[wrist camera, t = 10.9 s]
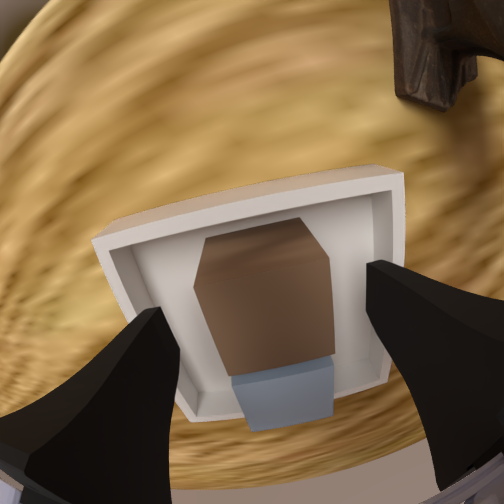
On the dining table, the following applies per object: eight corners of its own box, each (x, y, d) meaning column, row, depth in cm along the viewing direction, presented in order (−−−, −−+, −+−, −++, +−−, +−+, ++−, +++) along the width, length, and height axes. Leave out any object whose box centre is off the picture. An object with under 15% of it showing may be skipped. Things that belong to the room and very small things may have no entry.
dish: (374, 164, 11) (403, 172, 9) (372, 355, 16) (387, 382, 14) (114, 219, 12) (90, 239, 9) (193, 392, 16) (190, 422, 14)
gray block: (315, 360, 15) (332, 415, 11) (247, 374, 15) (251, 431, 11) (311, 307, 13) (334, 365, 10) (231, 323, 13) (231, 386, 10)
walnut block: (299, 216, 11) (329, 257, 8) (310, 296, 13) (335, 353, 9) (205, 237, 12) (193, 287, 8) (229, 314, 13) (228, 376, 10)
